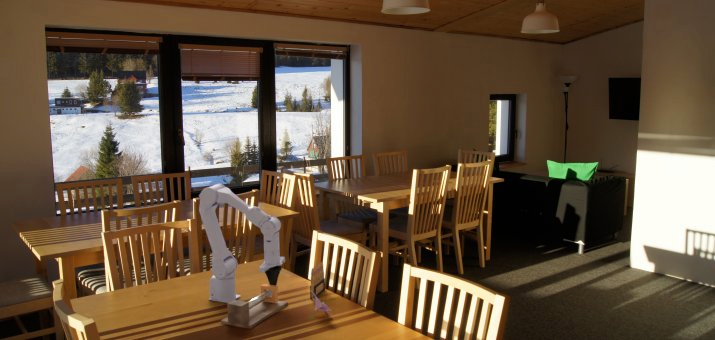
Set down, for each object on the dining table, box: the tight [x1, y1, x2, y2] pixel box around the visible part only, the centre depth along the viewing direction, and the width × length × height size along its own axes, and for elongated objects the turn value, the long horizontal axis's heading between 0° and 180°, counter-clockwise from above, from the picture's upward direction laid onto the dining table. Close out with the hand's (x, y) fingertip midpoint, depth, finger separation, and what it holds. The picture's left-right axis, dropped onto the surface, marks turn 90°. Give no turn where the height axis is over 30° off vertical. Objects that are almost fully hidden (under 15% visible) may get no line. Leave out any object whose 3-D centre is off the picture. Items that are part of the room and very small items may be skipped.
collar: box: [260, 283, 279, 303], centre depth 221 cm, size 6×2×6 cm, turn 65°
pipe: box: [247, 290, 272, 309], centre depth 213 cm, size 3×18×3 cm, turn 155°
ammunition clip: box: [309, 261, 326, 300], centre depth 231 cm, size 11×2×12 cm, turn 160°
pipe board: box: [220, 299, 289, 330], centre depth 213 cm, size 12×24×8 cm, turn 155°
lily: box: [308, 288, 333, 321], centre depth 208 cm, size 12×12×10 cm
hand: (273, 285), depth 223 cm, fingers closed
